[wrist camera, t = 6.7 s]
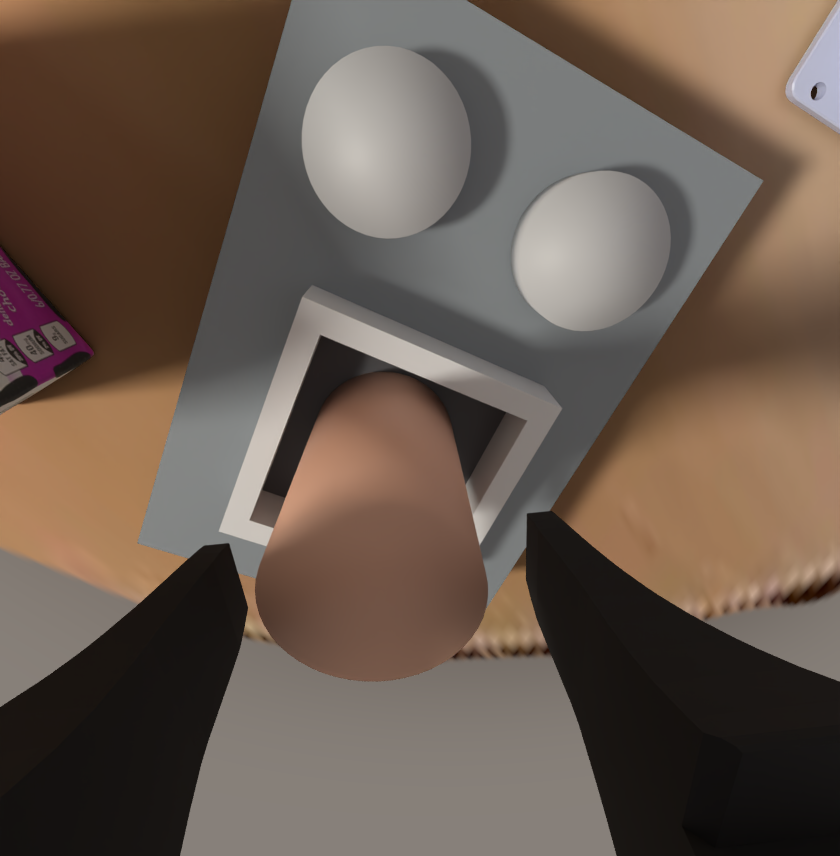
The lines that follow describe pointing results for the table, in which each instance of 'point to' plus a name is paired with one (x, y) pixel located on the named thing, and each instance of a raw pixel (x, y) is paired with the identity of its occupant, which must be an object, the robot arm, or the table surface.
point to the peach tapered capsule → (375, 539)
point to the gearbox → (434, 264)
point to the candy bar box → (32, 338)
